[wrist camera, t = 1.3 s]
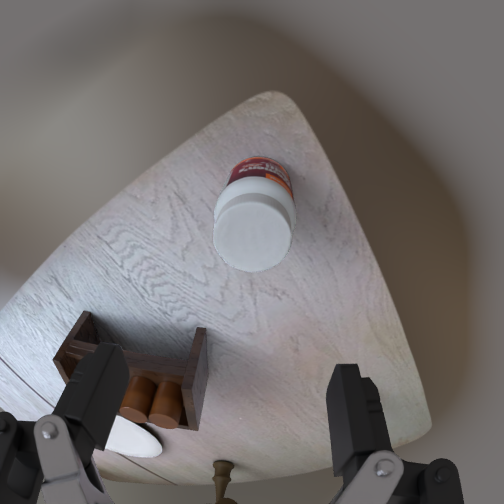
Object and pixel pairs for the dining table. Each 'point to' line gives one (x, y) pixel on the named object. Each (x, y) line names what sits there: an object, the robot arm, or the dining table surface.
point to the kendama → (222, 481)
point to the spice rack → (147, 378)
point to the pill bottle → (255, 216)
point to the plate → (132, 439)
